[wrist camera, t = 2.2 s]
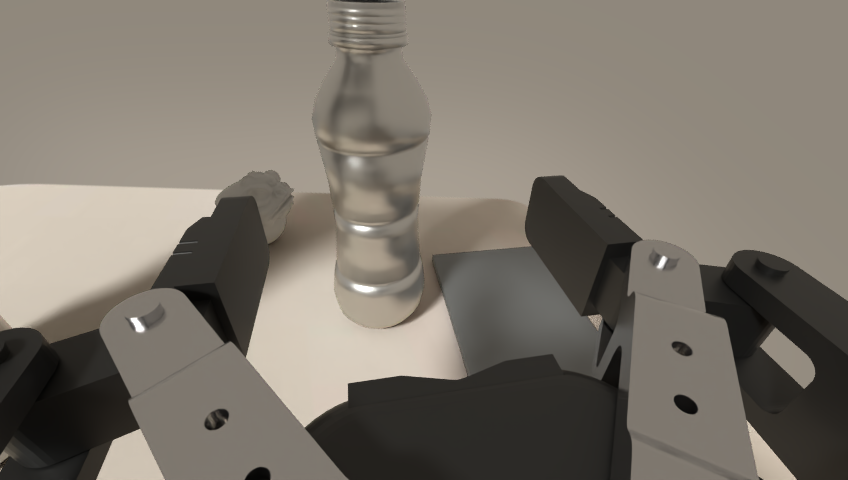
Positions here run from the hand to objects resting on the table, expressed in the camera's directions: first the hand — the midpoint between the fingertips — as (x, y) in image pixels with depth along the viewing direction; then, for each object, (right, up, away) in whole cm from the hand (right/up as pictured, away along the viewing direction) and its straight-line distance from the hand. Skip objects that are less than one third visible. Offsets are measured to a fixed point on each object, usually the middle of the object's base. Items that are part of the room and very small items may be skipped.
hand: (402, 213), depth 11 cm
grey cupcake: (-14, -1, +24) cm, 28 cm away
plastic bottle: (-3, -6, +18) cm, 19 cm away
